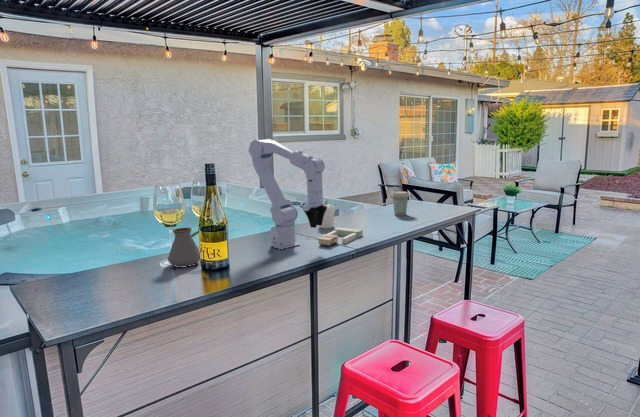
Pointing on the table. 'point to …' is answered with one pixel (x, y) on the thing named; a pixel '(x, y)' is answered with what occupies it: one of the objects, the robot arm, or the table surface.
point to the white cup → (328, 217)
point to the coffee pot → (184, 248)
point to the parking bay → (346, 233)
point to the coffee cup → (400, 202)
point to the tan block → (328, 240)
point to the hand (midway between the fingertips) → (316, 226)
